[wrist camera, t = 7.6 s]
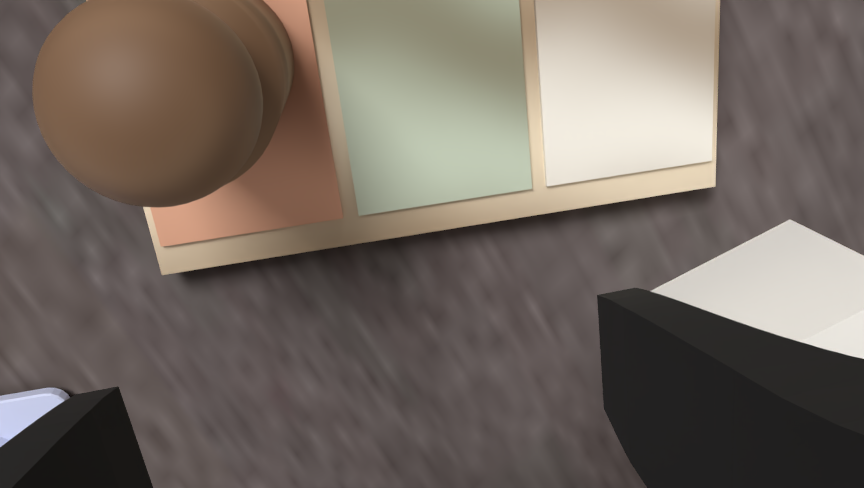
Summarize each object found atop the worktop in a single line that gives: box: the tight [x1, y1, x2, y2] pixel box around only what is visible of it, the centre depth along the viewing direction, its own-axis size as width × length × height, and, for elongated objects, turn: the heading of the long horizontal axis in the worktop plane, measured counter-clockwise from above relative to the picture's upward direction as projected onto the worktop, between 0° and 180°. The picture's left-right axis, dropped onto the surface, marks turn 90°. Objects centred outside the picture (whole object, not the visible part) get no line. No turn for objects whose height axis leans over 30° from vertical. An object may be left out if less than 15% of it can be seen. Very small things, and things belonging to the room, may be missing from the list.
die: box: [651, 220, 864, 359], centre depth 20 cm, size 5×5×5 cm
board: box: [86, 0, 720, 275], centre depth 17 cm, size 10×15×1 cm, turn 97°
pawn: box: [32, 0, 294, 208], centre depth 13 cm, size 4×4×8 cm
